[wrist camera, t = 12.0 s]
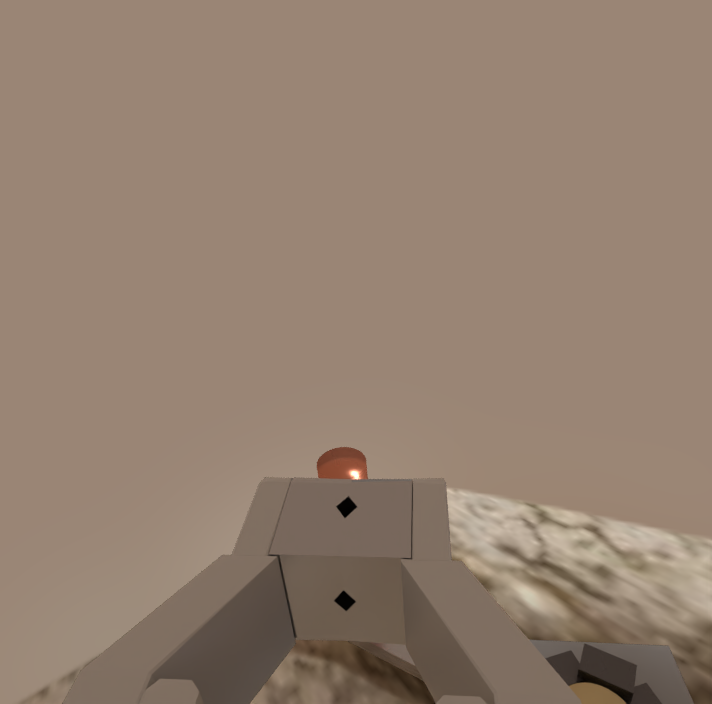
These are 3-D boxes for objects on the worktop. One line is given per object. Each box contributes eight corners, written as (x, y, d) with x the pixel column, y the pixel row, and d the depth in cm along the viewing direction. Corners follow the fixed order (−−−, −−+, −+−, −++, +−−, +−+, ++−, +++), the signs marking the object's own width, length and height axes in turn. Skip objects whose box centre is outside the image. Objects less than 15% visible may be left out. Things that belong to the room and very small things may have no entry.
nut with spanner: (684, 721, 31) (758, 526, 23) (675, 903, 24) (773, 711, 17) (375, 582, 41) (359, 416, 34) (310, 684, 34) (273, 505, 27)
